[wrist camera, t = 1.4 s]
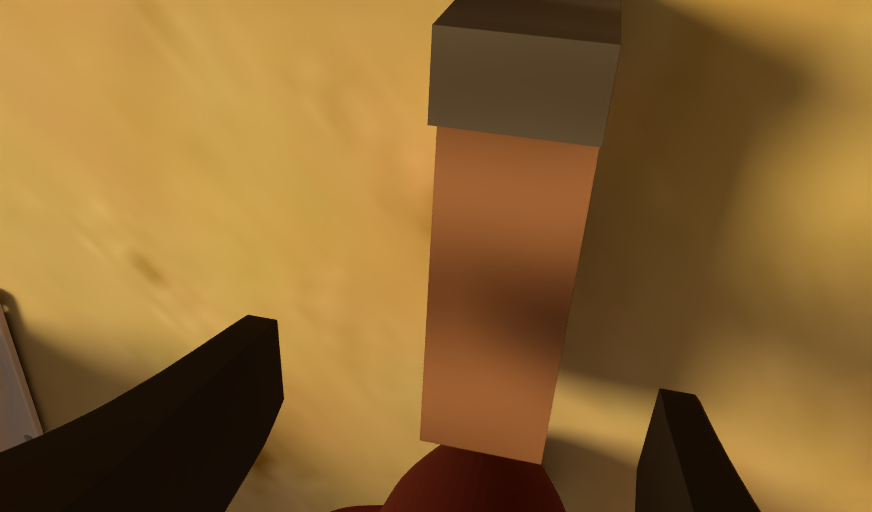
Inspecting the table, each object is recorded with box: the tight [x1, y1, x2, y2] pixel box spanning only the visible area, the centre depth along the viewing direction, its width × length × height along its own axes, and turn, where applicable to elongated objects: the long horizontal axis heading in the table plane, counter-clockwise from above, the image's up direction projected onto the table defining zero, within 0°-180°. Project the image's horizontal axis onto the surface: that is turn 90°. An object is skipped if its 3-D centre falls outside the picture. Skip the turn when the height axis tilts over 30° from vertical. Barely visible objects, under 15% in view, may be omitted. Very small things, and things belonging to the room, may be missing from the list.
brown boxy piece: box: [420, 0, 621, 464], centre depth 19 cm, size 12×4×6 cm, turn 177°
